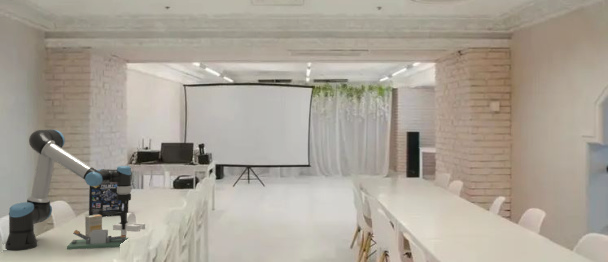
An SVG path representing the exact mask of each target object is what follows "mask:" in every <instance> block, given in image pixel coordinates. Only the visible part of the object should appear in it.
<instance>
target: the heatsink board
mask: <svg viewBox="0 0 608 262" xmlns="http://www.w3.org/2000/svg"><path fill="white" fill-rule="evenodd" d="M108 234H109V229H102V230H93V231H92V232H91V233H90V239H87V240H85V239H83V238H79V239H73V240H71V242H69V244H68V245H67V246H66V250H79V249H80V250H81V249H86V248H87V249H103V248H104V249H105V248H107V249H109V248H120V247H119V246H120V244H121V243H123V242H124V241H125V240H127V239H128V238H129V237H126V238H124V239H116V240H110V239H107V238H108V237H109V236H110V237H112V235H108Z"/></svg>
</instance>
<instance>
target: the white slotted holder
mask: <svg viewBox="0 0 608 262" xmlns="http://www.w3.org/2000/svg"><path fill="white" fill-rule="evenodd" d="M127 221H128V223H126V232H140V231H141V230H145V229H146V223H144V222H142V223H141V222H137V216H136V214H135V213H133V212H128V213H127ZM120 223H121V221H119V222H118V223H113V224H112V230H113V231H121V224H120Z"/></svg>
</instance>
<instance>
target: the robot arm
mask: <svg viewBox="0 0 608 262" xmlns="http://www.w3.org/2000/svg"><path fill="white" fill-rule="evenodd" d="M65 141H66V139H65V136H64V134H63V133H62V132H61V131H59V130H57V129H38V130H35V131H34V132H32V133H31V134H30V136H29V138H28V143H29V145H30V147H31V149H32V150H33V151H35V152H36V154H37V155H38V156H37V162H36V168H35V174H34V177H33V178H34V179H33V184H32V189H31V193H30V194H31V195H29V197H28V198H27V200H26V201H25V202H20V203H15V204H12V205H11V206H10V207H9V212H8V215H9V216H8V223H9V226H8V229H9V230H8V231H9V232H8V233H9V234H8V236H7V239H6V242H5V249H6V250H8V251H22V250H28V249H33V248H36V247H37V246H38V240H37V236H36V235H35V231H34V226H35V225H36V224H39V223H42V222H45V221H46V220H48V219H49V218H50V217H51V215H52V212H53V207H52V205H51V199H50V198H49V192H50V187H51V183H52V182H51V181H52V176H53V170H54V164H55V162H56V163H58V164H60V165H61V167H62V166H63V167H64V168H66V169H67V170H69V171H70V172H72V173H73V174H76V176H78V177H80V178H81V179H83V180H85V183H86V185H87V186H98V185H100V184H104V183H117V193H118V194H117V200H118V201H121V204H120V212H121V216H120V222H121V223H120V224H121V230H120V236H121V235H126V236H127V231H126V223H128V221H127V206H128V207H129V201H131V200H132V193H131V192H132V190H133V187H132V167H131V166H129V165H120V166H119V165H118V166H117V167H116V169H110V168H109V169H108V168H107V169H104V168H101V169H95V167H93V166H91V165H89V164H87V163H86V162H85V161H83V160H81V159H79V158H78V157H76V156H75V155H73V154H72V153H71V152H69V151H67V150H66V149H64V148H63V147H64V145H65V143H66V142H65ZM127 201H128V203H127Z"/></svg>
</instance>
